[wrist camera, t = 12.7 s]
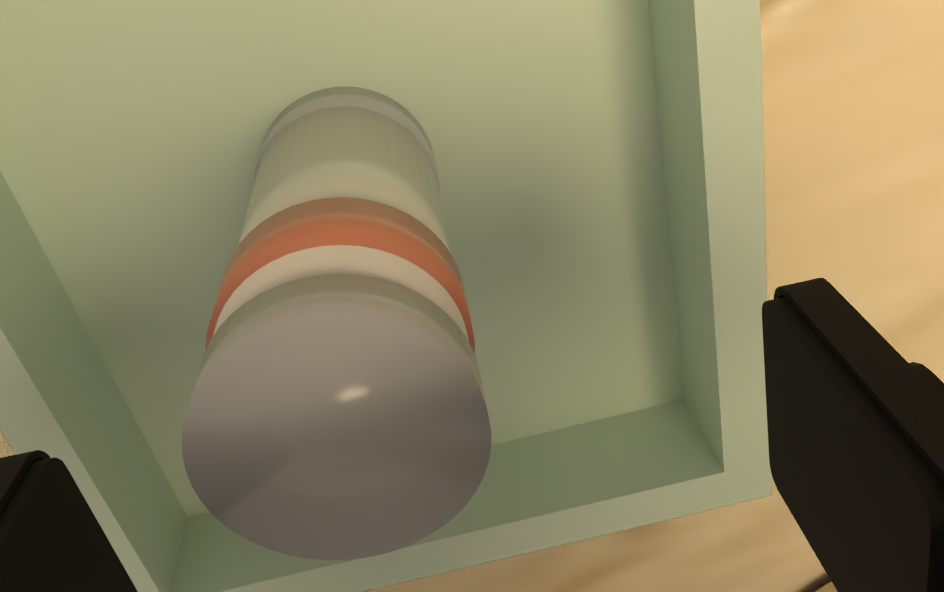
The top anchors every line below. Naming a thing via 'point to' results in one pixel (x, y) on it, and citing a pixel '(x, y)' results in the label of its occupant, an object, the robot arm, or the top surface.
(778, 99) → the top surface
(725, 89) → the tray
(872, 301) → the top surface
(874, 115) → the top surface
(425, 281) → the fuse marked
